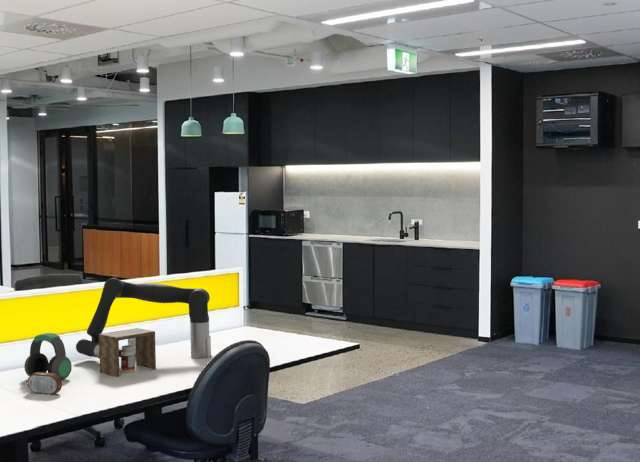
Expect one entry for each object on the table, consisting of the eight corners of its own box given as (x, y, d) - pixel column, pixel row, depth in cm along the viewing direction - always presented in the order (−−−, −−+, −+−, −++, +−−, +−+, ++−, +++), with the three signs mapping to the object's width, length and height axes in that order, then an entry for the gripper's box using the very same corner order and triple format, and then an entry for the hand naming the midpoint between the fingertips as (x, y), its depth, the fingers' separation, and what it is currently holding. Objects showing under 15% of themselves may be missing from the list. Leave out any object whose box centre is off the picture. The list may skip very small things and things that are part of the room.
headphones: (74, 378, 351) (72, 332, 350) (56, 383, 341) (54, 337, 340) (41, 374, 359) (39, 330, 358) (22, 380, 349) (21, 334, 348)
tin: (62, 393, 323) (62, 373, 323) (57, 395, 320) (57, 374, 320) (31, 391, 328) (31, 371, 328) (26, 393, 325) (26, 372, 325)
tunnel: (100, 372, 361) (98, 334, 360) (138, 365, 376) (137, 328, 375) (117, 377, 352) (116, 337, 351) (155, 369, 367) (154, 331, 366)
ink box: (147, 356, 397) (146, 332, 397) (139, 358, 393) (139, 334, 392) (135, 354, 402) (134, 331, 401) (127, 356, 398) (127, 332, 397)
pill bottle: (118, 371, 364) (117, 346, 363) (129, 368, 368) (128, 344, 368) (126, 373, 360) (126, 348, 359) (137, 370, 364) (137, 345, 364)
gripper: (91, 346, 371) (111, 350, 360) (118, 341, 381) (137, 345, 370) (92, 362, 371) (111, 366, 360) (119, 357, 382) (138, 361, 371)
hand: (124, 356), depth 365 cm, fingers open, 8 cm apart
